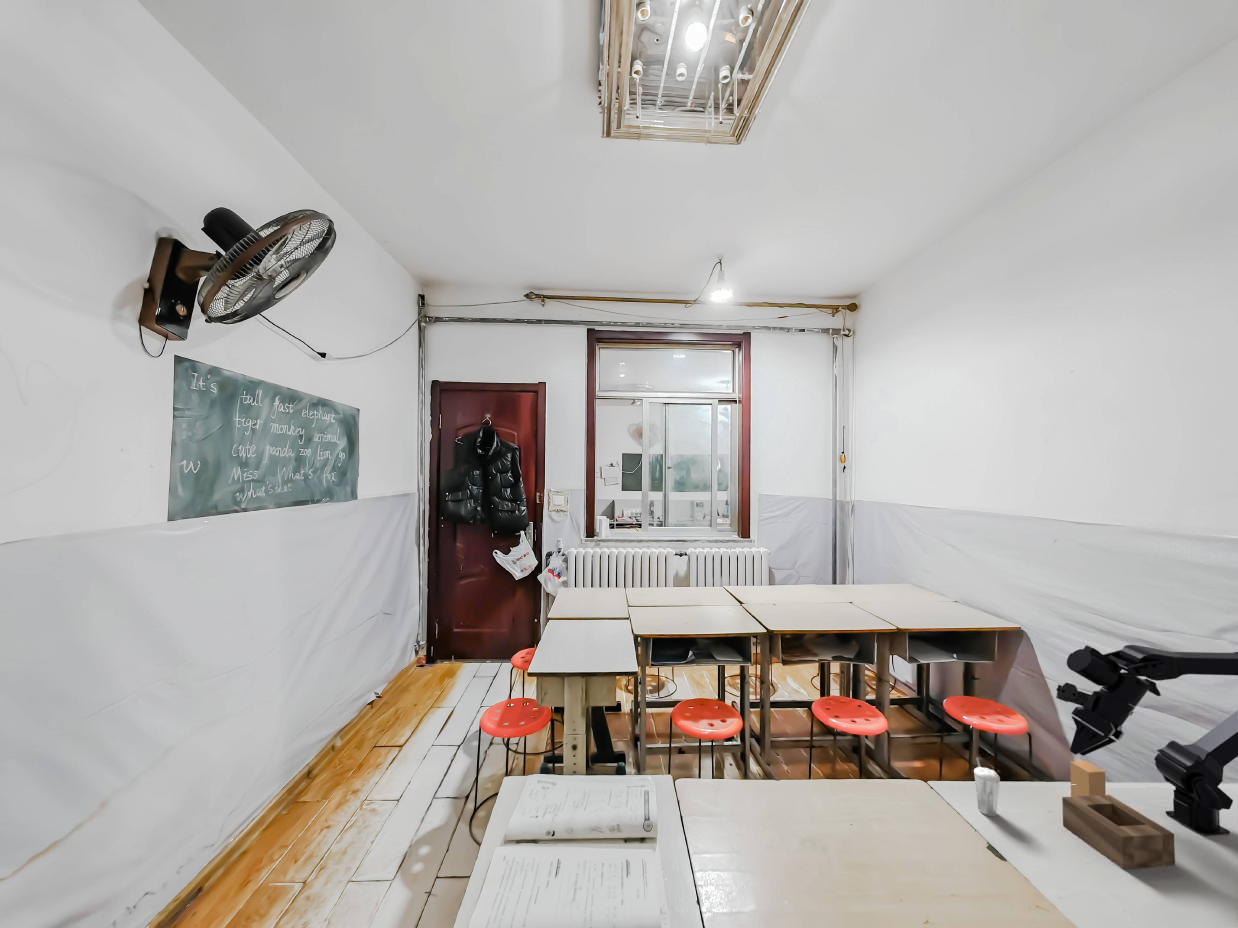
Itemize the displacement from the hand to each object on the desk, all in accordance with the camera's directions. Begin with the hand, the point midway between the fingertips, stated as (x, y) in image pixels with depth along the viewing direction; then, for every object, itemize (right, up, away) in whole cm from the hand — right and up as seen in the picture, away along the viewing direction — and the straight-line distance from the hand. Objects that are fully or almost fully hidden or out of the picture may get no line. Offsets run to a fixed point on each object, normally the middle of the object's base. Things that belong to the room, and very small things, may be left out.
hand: (1076, 753), depth 105 cm
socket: (-3, -12, -11) cm, 16 cm away
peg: (+4, -12, +2) cm, 13 cm away
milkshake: (-22, -12, -1) cm, 25 cm away
